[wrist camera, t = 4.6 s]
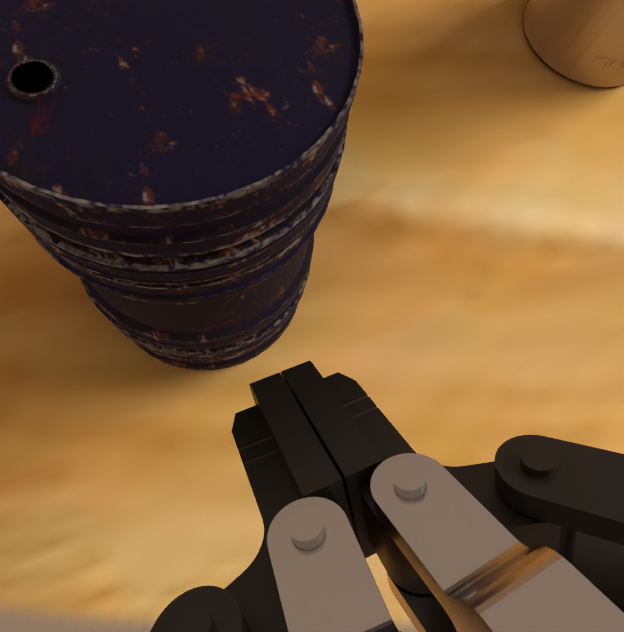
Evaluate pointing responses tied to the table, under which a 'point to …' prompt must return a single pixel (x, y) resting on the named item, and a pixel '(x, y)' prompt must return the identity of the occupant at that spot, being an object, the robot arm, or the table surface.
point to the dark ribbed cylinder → (179, 157)
